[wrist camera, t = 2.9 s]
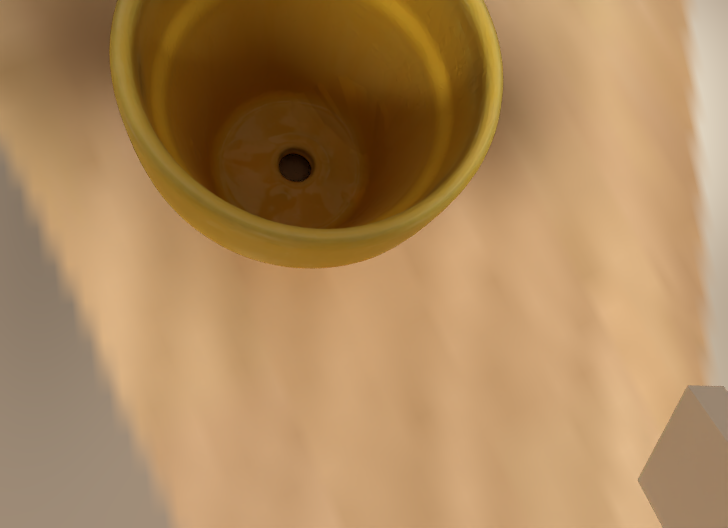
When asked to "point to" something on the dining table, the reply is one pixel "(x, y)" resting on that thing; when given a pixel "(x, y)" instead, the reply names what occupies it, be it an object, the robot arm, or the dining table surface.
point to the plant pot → (307, 116)
